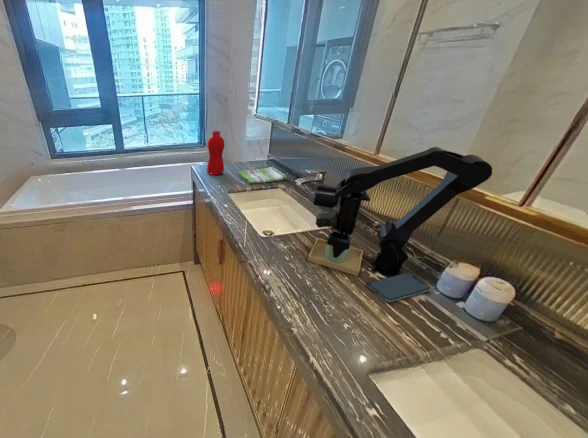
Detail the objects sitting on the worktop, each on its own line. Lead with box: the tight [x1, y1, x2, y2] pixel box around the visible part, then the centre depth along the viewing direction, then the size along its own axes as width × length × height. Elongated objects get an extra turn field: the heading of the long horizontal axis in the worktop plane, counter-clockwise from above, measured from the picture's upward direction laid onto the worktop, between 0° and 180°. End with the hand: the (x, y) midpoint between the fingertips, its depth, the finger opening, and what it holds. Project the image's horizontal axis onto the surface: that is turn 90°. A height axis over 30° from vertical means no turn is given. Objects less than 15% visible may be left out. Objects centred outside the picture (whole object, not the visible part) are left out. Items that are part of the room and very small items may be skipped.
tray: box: [307, 237, 364, 277], centre depth 96 cm, size 15×13×2 cm
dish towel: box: [237, 166, 287, 185], centre depth 164 cm, size 17×23×4 cm
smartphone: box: [367, 272, 430, 303], centre depth 82 cm, size 8×2×15 cm
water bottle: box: [206, 130, 225, 176], centre depth 167 cm, size 9×11×25 cm
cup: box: [325, 230, 353, 263], centre depth 94 cm, size 7×7×8 cm
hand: (336, 251), depth 95 cm, fingers closed on cup, 7 cm apart
